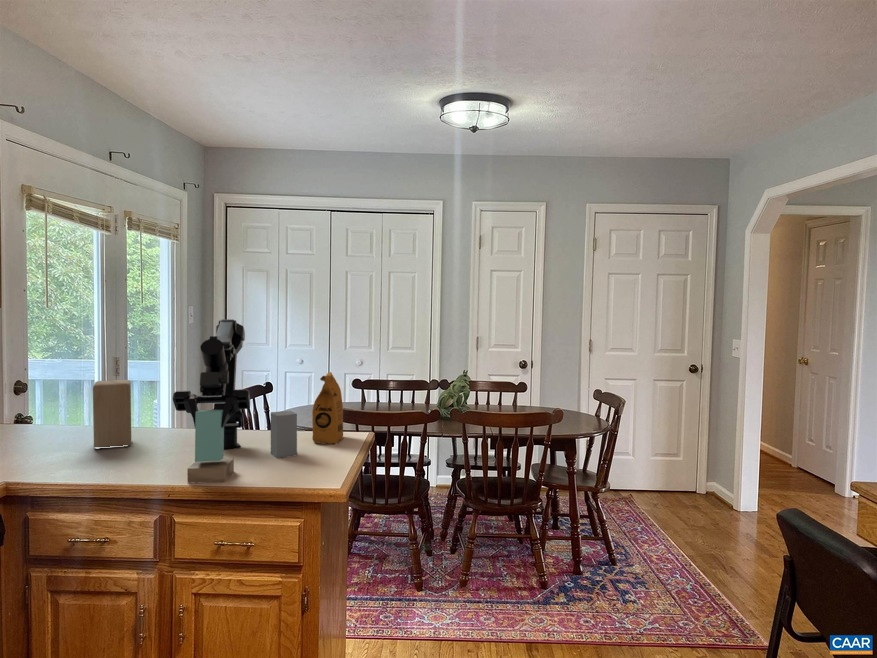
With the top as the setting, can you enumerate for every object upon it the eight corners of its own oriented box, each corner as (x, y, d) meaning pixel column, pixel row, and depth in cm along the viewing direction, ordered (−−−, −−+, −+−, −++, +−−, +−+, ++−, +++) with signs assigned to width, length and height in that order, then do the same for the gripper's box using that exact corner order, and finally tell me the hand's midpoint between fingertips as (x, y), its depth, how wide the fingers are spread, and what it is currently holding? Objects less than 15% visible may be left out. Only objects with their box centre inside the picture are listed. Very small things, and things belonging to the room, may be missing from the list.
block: (93, 450, 174) (92, 385, 173) (95, 443, 183) (94, 380, 182) (131, 447, 178) (130, 383, 178) (131, 440, 187) (130, 379, 186)
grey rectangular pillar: (270, 453, 173) (270, 412, 172) (290, 450, 176) (290, 410, 175) (276, 458, 168) (276, 415, 167) (296, 455, 171) (296, 413, 170)
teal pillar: (199, 458, 150) (200, 410, 151) (223, 457, 152) (224, 409, 153) (194, 461, 144) (195, 411, 145) (220, 460, 146) (220, 411, 147)
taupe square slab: (199, 473, 153) (199, 458, 153) (233, 472, 154) (233, 458, 154) (187, 484, 144) (187, 468, 144) (224, 483, 145) (224, 468, 145)
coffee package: (307, 444, 184) (307, 376, 183) (318, 435, 197) (318, 371, 196) (337, 445, 183) (337, 376, 182) (346, 436, 196) (347, 371, 195)
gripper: (173, 360, 149) (163, 410, 139) (248, 359, 154) (244, 408, 143) (180, 385, 158) (171, 435, 147) (251, 384, 162) (248, 432, 151)
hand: (209, 427), depth 147 cm, fingers closed on teal pillar, 6 cm apart
